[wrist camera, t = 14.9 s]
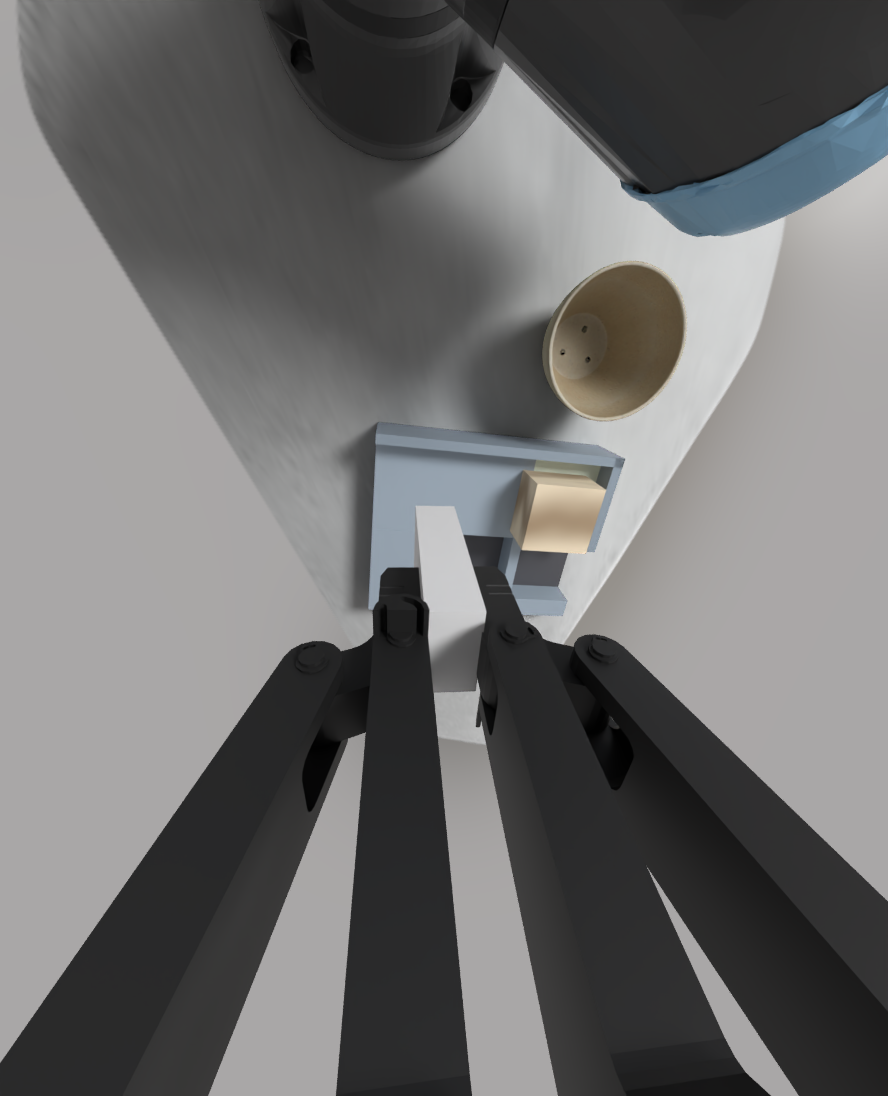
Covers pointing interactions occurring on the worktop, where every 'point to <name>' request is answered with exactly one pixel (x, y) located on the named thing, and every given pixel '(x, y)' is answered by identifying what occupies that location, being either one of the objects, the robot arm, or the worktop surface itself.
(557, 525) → the block
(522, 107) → the worktop surface
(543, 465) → the tray
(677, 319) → the tan bowl
